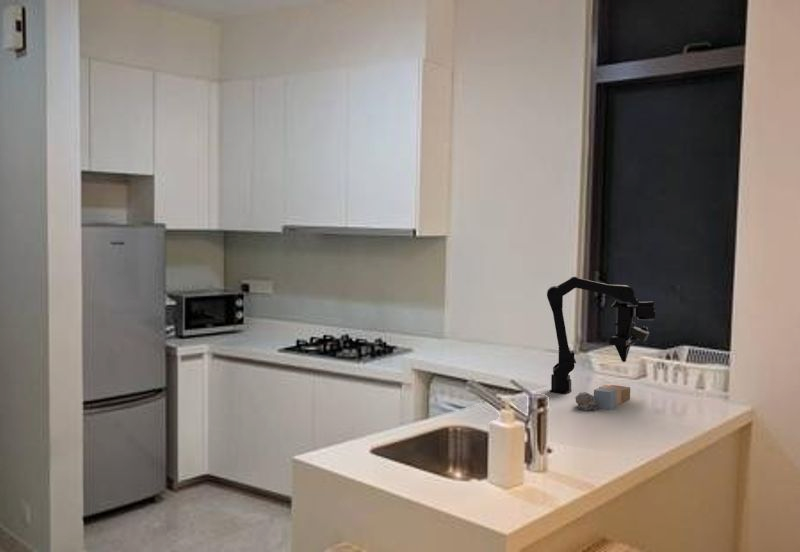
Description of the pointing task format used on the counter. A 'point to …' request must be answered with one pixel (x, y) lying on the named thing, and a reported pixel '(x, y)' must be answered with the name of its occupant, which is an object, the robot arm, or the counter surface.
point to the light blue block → (605, 398)
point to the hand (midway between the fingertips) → (624, 361)
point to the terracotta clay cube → (617, 392)
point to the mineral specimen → (586, 401)
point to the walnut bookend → (624, 393)
